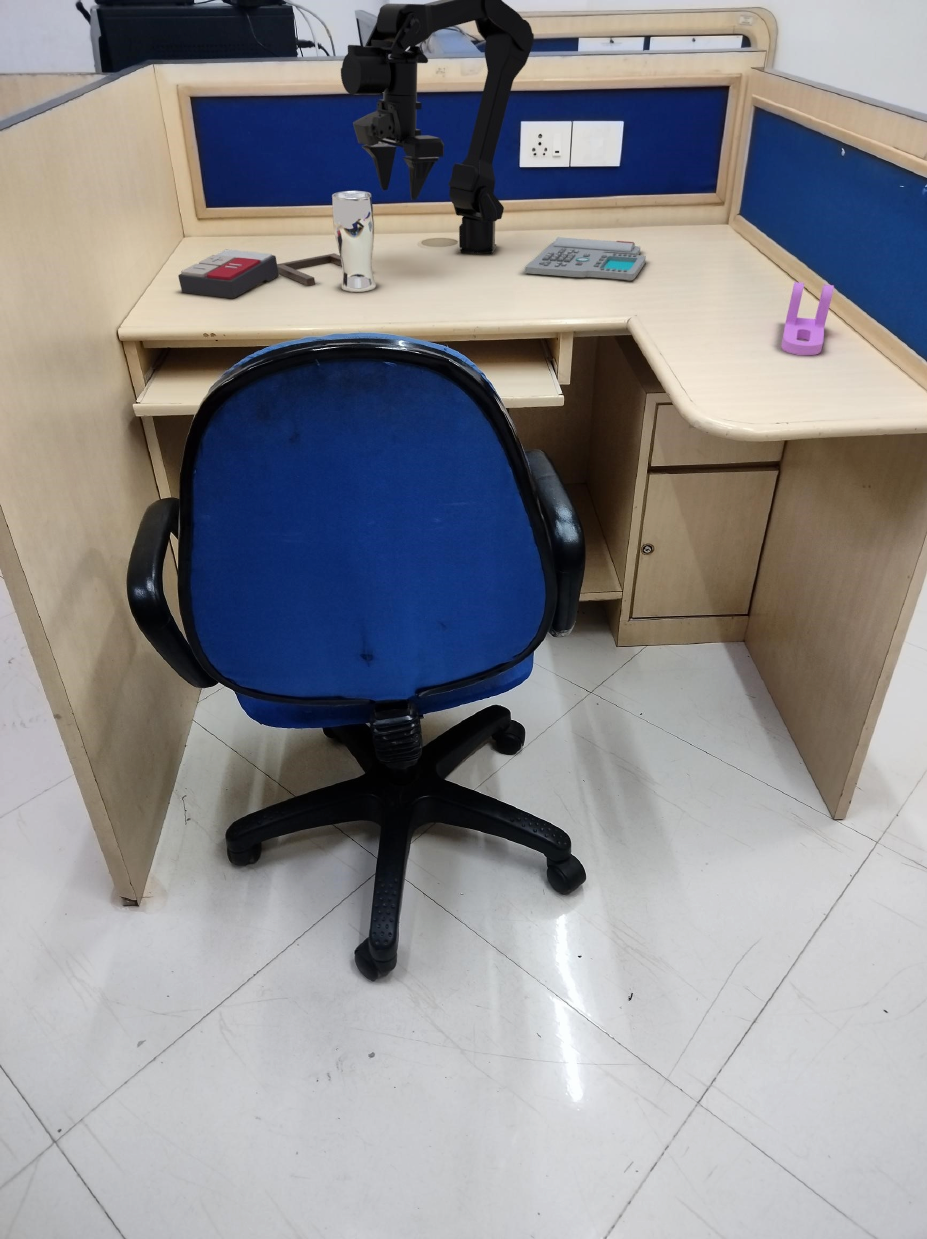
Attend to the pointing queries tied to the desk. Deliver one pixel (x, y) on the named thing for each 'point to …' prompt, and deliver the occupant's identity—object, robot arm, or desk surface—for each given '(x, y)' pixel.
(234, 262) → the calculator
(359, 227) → the beer glass
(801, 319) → the bracket
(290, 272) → the frame
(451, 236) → the desk surface
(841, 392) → the desk surface
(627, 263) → the office telephone
